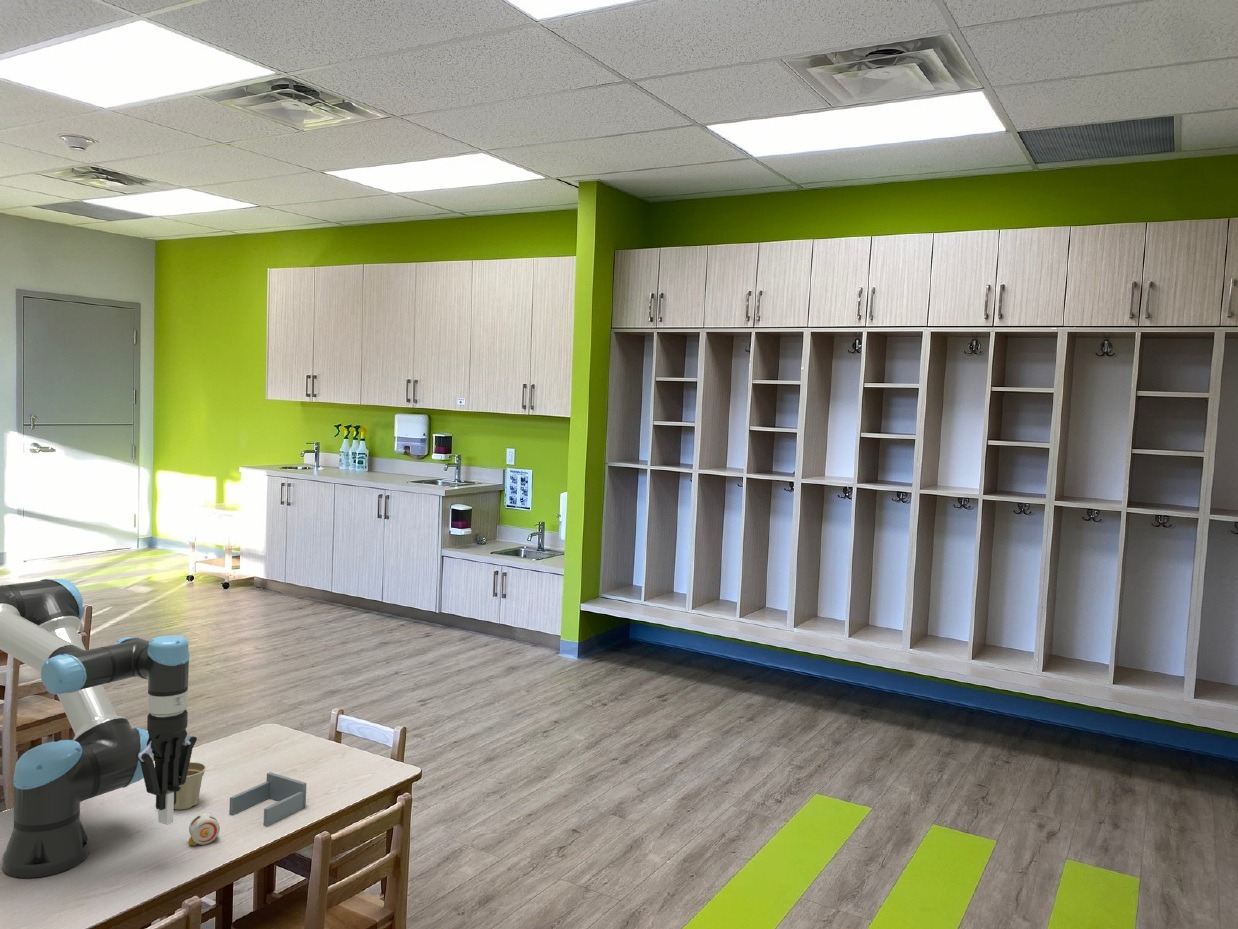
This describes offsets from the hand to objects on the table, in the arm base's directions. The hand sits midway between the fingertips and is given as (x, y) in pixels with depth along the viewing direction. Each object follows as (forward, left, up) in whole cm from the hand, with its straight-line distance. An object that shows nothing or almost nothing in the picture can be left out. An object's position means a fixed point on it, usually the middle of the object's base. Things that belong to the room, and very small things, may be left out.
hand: (165, 822), depth 188 cm
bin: (+28, 0, -8) cm, 29 cm away
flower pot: (+20, +19, -9) cm, 29 cm away
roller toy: (+10, 0, -9) cm, 13 cm away
